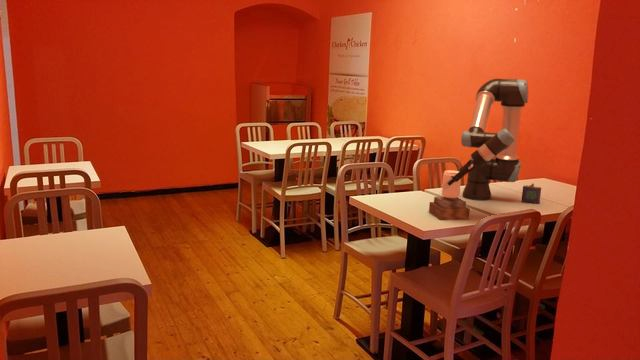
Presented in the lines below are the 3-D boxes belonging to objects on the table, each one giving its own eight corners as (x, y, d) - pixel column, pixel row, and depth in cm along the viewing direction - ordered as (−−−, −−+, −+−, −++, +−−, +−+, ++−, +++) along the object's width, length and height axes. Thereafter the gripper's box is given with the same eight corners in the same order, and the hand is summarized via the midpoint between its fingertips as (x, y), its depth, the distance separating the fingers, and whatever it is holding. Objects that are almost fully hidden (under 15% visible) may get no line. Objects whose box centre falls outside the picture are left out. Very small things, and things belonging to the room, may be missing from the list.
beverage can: (439, 194, 250) (441, 169, 247) (455, 194, 251) (458, 170, 248) (444, 198, 242) (446, 173, 240) (461, 198, 243) (464, 173, 240)
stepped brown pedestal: (455, 211, 256) (457, 195, 255) (469, 219, 243) (470, 202, 241) (428, 212, 254) (430, 196, 252) (441, 220, 240) (442, 203, 238)
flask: (539, 203, 280) (541, 183, 278) (539, 204, 277) (542, 184, 275) (520, 201, 282) (523, 182, 280) (521, 202, 280) (523, 183, 277)
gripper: (487, 165, 228) (447, 197, 237) (488, 158, 248) (450, 188, 256) (476, 152, 229) (436, 184, 237) (477, 146, 248) (440, 176, 256)
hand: (443, 186), depth 246 cm, fingers closed on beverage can, 8 cm apart
